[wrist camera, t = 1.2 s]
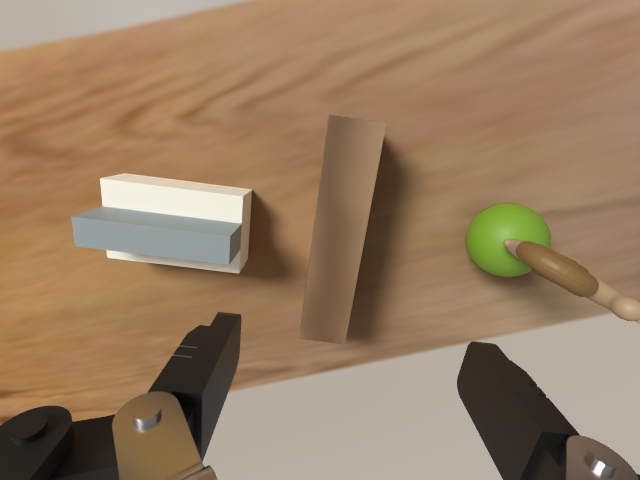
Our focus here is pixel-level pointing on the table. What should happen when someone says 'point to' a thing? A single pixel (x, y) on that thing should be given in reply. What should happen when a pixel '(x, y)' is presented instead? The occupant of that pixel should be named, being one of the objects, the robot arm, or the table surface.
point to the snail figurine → (536, 256)
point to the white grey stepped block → (169, 223)
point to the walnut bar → (340, 225)
